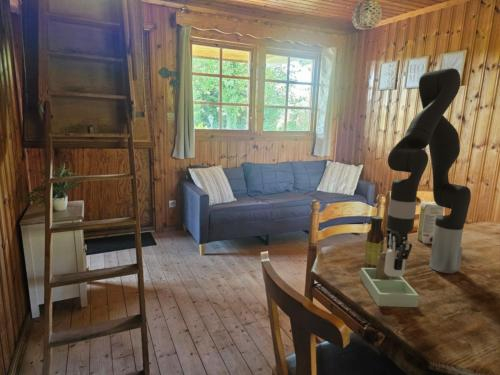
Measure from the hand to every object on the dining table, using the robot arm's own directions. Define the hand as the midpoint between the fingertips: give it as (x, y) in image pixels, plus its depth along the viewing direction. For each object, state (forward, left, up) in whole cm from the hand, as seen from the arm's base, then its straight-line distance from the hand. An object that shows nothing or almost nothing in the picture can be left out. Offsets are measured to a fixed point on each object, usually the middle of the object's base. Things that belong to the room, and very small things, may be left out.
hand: (394, 266), depth 102 cm
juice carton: (-38, -53, -11) cm, 66 cm away
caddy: (0, -4, -11) cm, 12 cm away
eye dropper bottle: (0, 0, -3) cm, 3 cm away
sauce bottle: (-2, -23, -11) cm, 26 cm away
